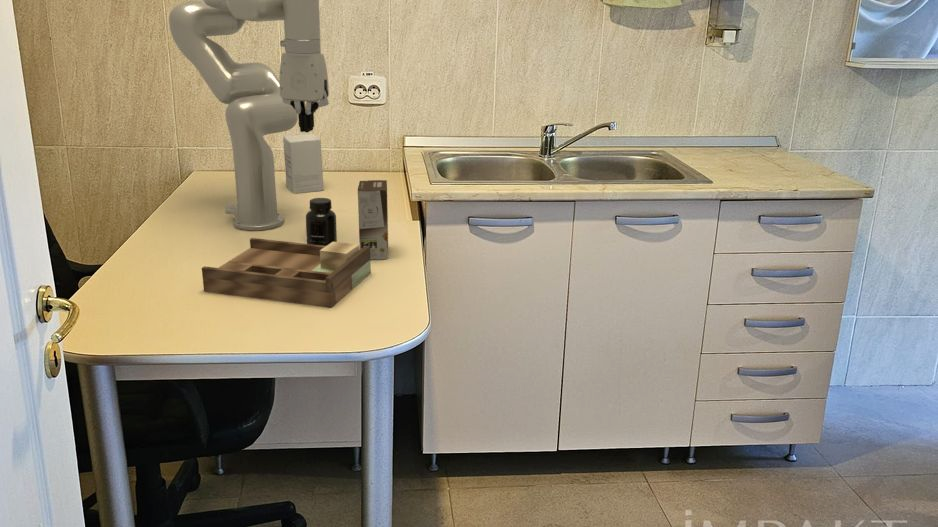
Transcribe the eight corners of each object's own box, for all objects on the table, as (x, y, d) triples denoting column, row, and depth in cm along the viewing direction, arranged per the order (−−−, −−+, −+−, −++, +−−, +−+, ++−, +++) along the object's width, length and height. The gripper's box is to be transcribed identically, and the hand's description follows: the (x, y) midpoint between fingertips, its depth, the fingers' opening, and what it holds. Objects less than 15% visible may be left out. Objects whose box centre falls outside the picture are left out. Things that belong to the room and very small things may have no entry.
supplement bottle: (312, 257, 195) (309, 205, 191) (303, 248, 200) (300, 198, 196) (341, 252, 198) (339, 202, 194) (331, 244, 203) (329, 194, 199)
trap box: (203, 291, 175) (201, 263, 173) (253, 259, 193) (251, 233, 191) (331, 307, 168) (330, 278, 166) (370, 272, 186) (369, 246, 184)
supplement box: (316, 183, 255) (313, 133, 250) (324, 191, 247) (321, 139, 242) (285, 186, 252) (282, 135, 247) (292, 194, 244) (289, 141, 239)
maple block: (320, 268, 179) (319, 250, 178) (334, 259, 185) (333, 241, 183) (346, 272, 178) (346, 253, 176) (359, 262, 183) (358, 244, 182)
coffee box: (388, 259, 194) (386, 190, 188) (359, 260, 193) (357, 190, 188) (388, 246, 202) (387, 179, 197) (361, 246, 202) (358, 179, 196)
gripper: (263, 47, 186) (268, 131, 193) (326, 51, 182) (329, 137, 189) (280, 43, 193) (284, 125, 200) (342, 47, 189) (344, 130, 196)
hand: (306, 130), depth 194 cm, fingers closed
